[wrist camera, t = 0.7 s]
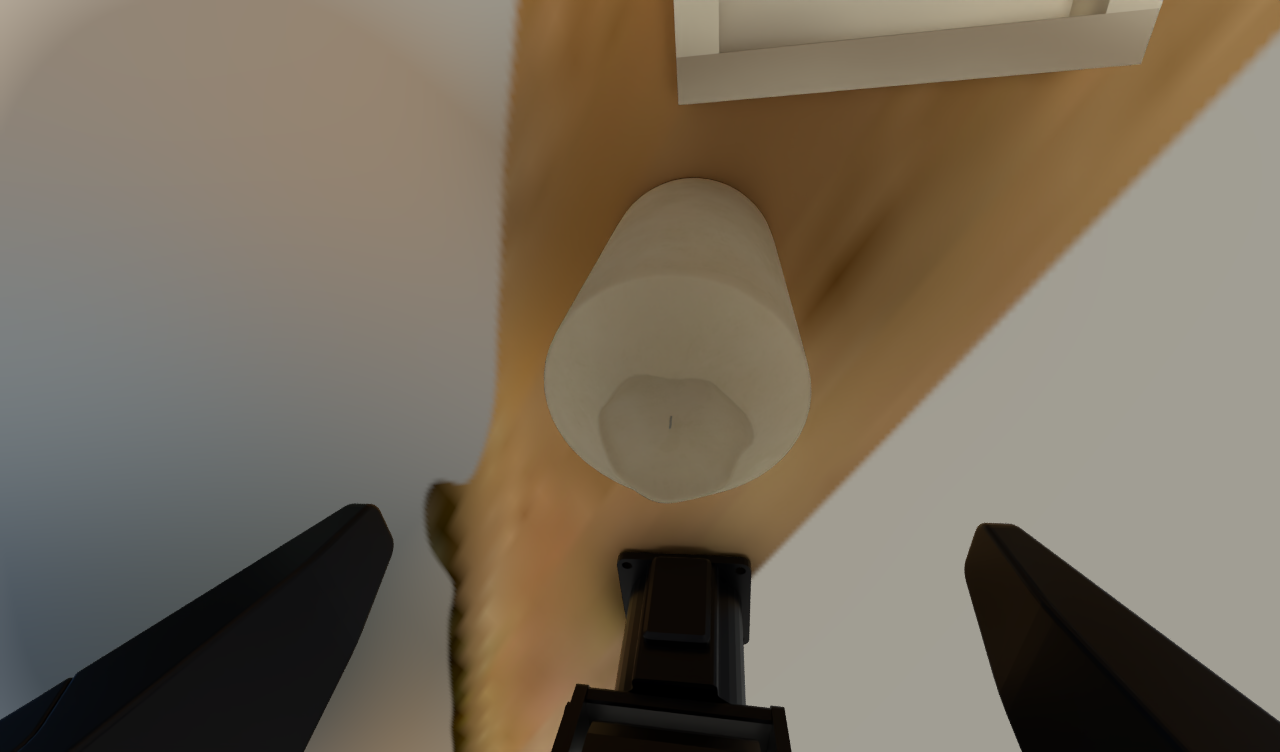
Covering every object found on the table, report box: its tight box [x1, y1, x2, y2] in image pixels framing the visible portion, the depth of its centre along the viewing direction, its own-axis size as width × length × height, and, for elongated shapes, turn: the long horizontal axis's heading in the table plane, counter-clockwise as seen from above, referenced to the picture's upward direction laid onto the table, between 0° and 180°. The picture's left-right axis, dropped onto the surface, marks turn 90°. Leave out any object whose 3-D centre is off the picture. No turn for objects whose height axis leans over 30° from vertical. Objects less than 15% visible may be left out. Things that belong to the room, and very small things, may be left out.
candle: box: [544, 178, 811, 503], centre depth 14 cm, size 6×6×10 cm
